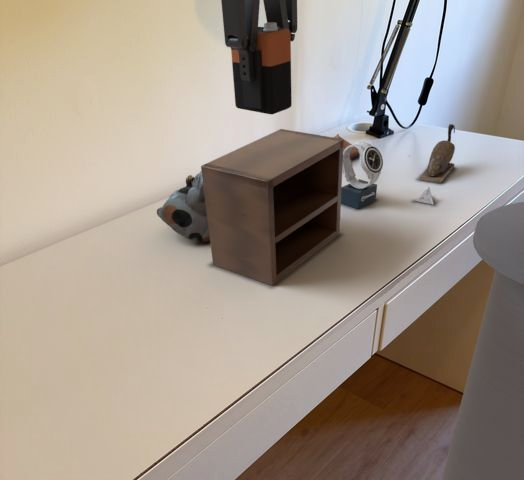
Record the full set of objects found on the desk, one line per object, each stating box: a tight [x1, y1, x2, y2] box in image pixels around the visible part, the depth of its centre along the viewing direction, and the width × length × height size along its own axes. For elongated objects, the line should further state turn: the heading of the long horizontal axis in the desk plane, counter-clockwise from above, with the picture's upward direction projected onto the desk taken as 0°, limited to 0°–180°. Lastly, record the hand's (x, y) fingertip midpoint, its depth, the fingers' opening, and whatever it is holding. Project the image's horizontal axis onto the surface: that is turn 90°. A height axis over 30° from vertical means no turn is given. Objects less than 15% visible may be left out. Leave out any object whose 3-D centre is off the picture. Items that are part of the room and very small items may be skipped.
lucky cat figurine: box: [156, 171, 210, 243], centre depth 93 cm, size 15×12×14 cm
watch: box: [341, 141, 384, 210], centre depth 99 cm, size 6×8×11 cm
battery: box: [230, 22, 292, 115], centre depth 68 cm, size 4×7×10 cm, turn 49°
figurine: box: [419, 123, 456, 184], centre depth 110 cm, size 14×4×9 cm, turn 149°
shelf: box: [200, 128, 345, 286], centre depth 84 cm, size 12×20×16 cm, turn 143°
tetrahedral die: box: [415, 186, 435, 205], centre depth 101 cm, size 4×3×3 cm
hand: (266, 101), depth 70 cm, fingers closed on battery, 5 cm apart
